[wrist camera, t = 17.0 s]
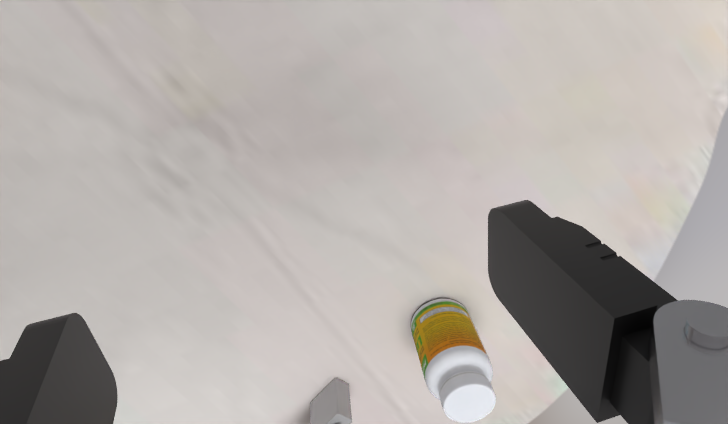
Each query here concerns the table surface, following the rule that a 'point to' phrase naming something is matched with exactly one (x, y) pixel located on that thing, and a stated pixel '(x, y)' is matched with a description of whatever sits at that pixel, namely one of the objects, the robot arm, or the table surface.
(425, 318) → the supplement bottle
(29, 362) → the robot arm
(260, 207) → the table surface
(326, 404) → the lighter
